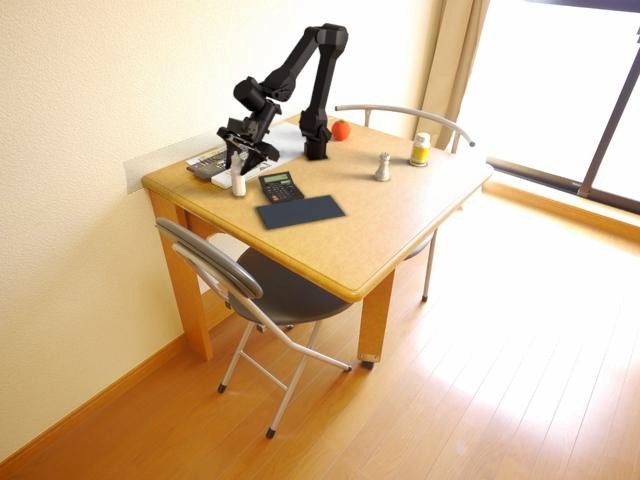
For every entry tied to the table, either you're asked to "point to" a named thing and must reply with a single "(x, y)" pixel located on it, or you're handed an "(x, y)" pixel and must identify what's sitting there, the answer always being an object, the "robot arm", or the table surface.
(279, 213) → the placemat
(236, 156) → the eye dropper bottle
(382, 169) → the rook chess piece
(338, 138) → the clementine
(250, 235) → the table surface
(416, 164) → the supplement bottle
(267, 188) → the calculator
